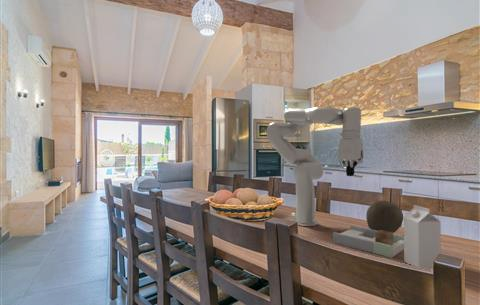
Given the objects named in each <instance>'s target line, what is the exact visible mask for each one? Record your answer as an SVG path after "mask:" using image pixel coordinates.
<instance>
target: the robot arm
mask: <svg viewBox="0 0 480 305" xmlns="http://www.w3.org/2000/svg"><path fill="white" fill-rule="evenodd" d="M283 119H284V121H285V122H283V121H282V122H281V121H273V122H271V123H269V125H268V126H267V128H266V137H267V141H268V143H269V144H270V145H271V146H272V147H273V148H274V149H275V151H276V152H277V153H278V154H279V155H280V156H281V158H282V159H283V160H284V162H285V163H286V164H287V165H288V166H291V167H294V168H293V176H294V181H295V183H294V184H295V212H291V214H290V217H291V218H293V220H292V222H293V221H297V222H298V225H297V226H300V227H301V226H302V227H315V226H318V225H319V221H318V220H316V211H315V210H316V199H315V198H316V195H315V194H316V191H315V184H314V182H313V181H316V180H319V179H321V178H322V177H323V175H324V169H323V168H324V167H323V165H322V164H321V163H320V162H319V160H318V159H316V157H314V155H313V154H312V153H311V152H310V151H308V150H307V149H305V148H297V147H295V146H293V144H291V142H290V141H289V140H288V139H287V138H291V137H293V136H294V135H295V134H296V133H297V132H298V131H300V129H301V128H302V127H303V126H304V125H308V126H309V125H313V124H323V125H325V124H327V125H332V126H333V125H334V126H342V131H341V132H340V133H339V136H340V137H341V138H339V142H338V149H337V159H338V162H339V163H341V164H343V165H344V167H346V168H345V170H346V172H345V173H346V176H347V177H354V175H355V168H356V167H357V165H360V164H363V163H364V161H363V160H364V144H363V143H364V142H363V139H362V138H361V132H362V131H361V129H362V128H361V127H362V126H361V124H362V123H361V122H362V109H361V108H360V107H356V106H353V107H352V106H351V107H345V108H344V109H341V108H335V107H330V106H329V107H328V106H327V107H324V106H323V107H322V106H321V107H291V108H288V109H286V110H285V111H284V114H283Z"/></svg>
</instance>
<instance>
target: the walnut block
mask: <svg viewBox="0 0 480 305" xmlns="http://www.w3.org/2000/svg"><path fill="white" fill-rule="evenodd" d="M393 234H394V233H393V232H389V231H384V230H379V231H377V232H375V242H379V243H383V244H387V245H393Z"/></svg>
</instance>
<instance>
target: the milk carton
mask: <svg viewBox="0 0 480 305" xmlns="http://www.w3.org/2000/svg"><path fill="white" fill-rule="evenodd" d="M441 226H442V225H441V221H440V219H438V218H437V217H436V216H434V215H433V214H432V213H431V209H430V208H428V207H427V208H426V207H424V206H421V205H416V204H413V208H411V209H410V211H409V212H407V213H406V214H405V215H403V236H404V249H403V259H404V260H403V262H404V263H406V264H408V265H409V264H411V265H415V266H418V267H421V268H427V269H432V263H433V260H434V259H435V257H436V256H437V255H438V254H441V255H442V251H441V250H442V242H441V241H442V237H441V236H442V234H441V231H442V229H441V228H442V227H441ZM411 265H410V266H411Z"/></svg>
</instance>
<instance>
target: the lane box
mask: <svg viewBox="0 0 480 305" xmlns="http://www.w3.org/2000/svg"><path fill="white" fill-rule="evenodd" d="M349 228H350V229H348V230H345V231H343V232H341V233H339V232H335V231H333V232H332V243H334V244H338V245H341V246H345V247H348V248H352V249H356V250H360V251H363V250H364V252H367V251H368V252H367V253H371V252H372V254H375V253H376V255H379V254H380V255H379V256H382V255H383V256H384V257H387V258H392V259H393V257H395V256H396V255H397V254H399V253H400V252H402V251H404V235H402V234H401V235H400V234H395V233H393V245H387V244H383V243H379V242H375V232H377V231H376V230H371V229H370V228H366V227H362V226H361V227H360V226H355V225H350V227H349ZM383 256H382V257H383Z"/></svg>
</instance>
